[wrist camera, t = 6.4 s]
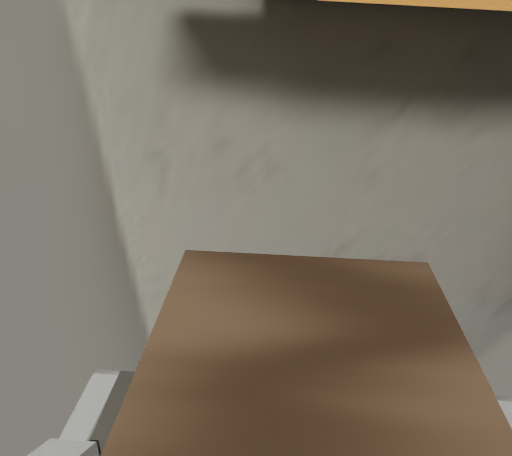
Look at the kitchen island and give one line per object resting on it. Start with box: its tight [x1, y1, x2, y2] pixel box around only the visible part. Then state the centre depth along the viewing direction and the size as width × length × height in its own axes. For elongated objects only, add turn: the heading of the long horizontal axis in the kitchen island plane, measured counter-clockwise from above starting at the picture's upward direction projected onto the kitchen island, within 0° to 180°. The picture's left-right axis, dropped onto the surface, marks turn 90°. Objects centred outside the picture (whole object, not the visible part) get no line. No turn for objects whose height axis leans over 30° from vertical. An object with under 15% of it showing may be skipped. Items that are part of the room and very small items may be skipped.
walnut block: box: [100, 250, 512, 456], centre depth 8 cm, size 5×5×5 cm
